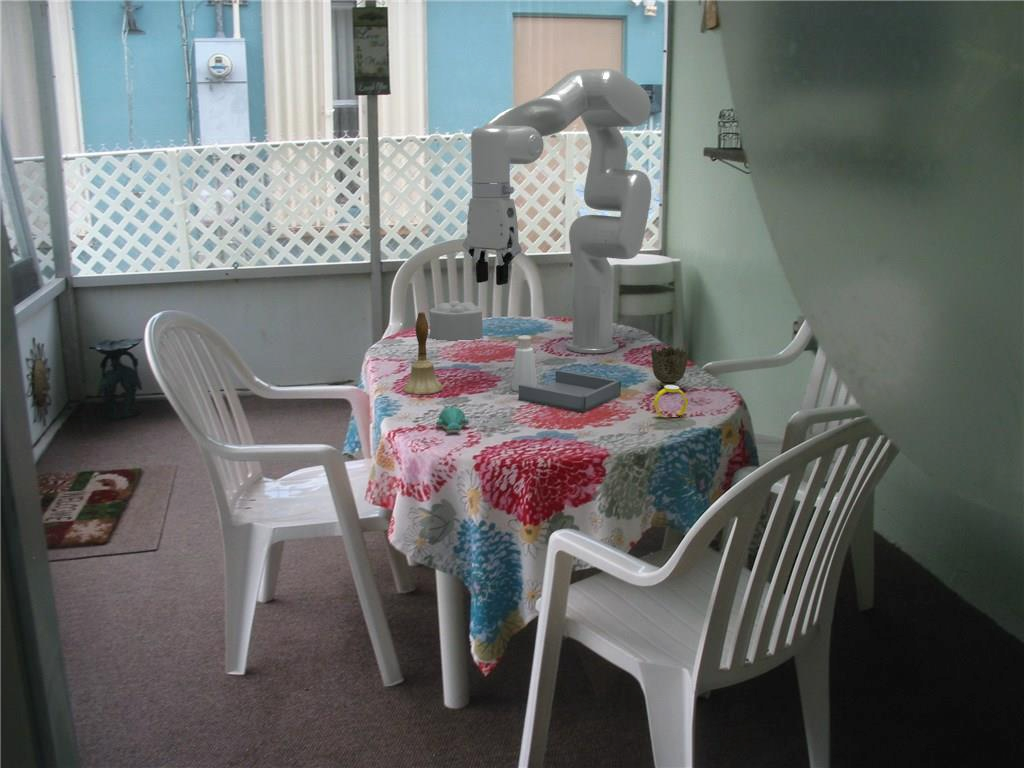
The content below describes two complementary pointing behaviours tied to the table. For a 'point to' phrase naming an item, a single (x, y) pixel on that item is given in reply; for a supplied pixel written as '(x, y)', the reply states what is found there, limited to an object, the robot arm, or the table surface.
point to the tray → (572, 391)
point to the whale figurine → (452, 419)
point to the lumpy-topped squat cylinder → (456, 321)
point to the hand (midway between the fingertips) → (492, 282)
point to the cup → (669, 365)
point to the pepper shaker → (524, 364)
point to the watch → (670, 389)
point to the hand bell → (422, 364)
